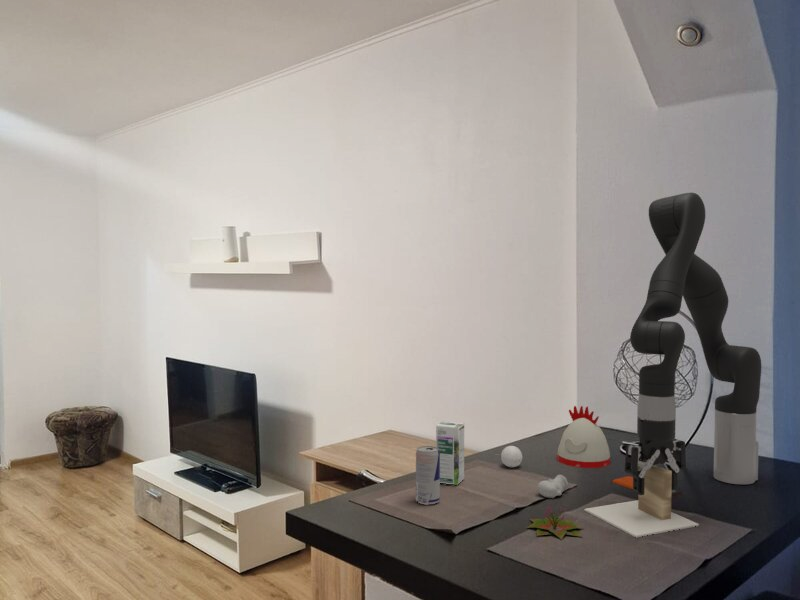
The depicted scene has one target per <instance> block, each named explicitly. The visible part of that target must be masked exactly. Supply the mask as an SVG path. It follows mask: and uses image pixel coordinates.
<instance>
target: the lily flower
mask: <svg viewBox="0 0 800 600" xmlns="http://www.w3.org/2000/svg"><path fill="white" fill-rule="evenodd" d="M560 510H562V506H561V507H560V508H559V510H558V512H555V510H553V511H552V509H551V508H550V507H549V506H548V508H547V511H548V512H547V511H545V514H543V516H544V518H534V519H533V518H529V520H530V521H531V522H532V523H531V524H529V526H526V527H525V528H528V529H529V528H537V529H536V531H535V533H536V537H538V536H544V535H545V536H546V535H555V536H557V537H558V538H559V539H560V540H562V539H563V538H564V536H565V535H568V536H569V535H570V536H573V537H574V536H575V537H581V538H583V536H582V535H581V534H580V532H579V531H578V530H576V529H581V530H583V529H584V530H585V528H583V527H581V526H580V525H577V524H576V523H574V520H573V519H571V520H569V519H564V518H565V517H566V516H565V515H563V516H561V515H562V514H565V513H566V512H565V511H567V508H566V509H564V510H563V511H561V512H560ZM559 512H560V513H559ZM555 513H556V514H555ZM546 514H547V515H546ZM549 514H550V515H549ZM550 516H551V517H550ZM560 516H561V518H559V517H560ZM550 528H552V529H550ZM557 528H560V530H558V531H556V529H557ZM554 529H555V530H554ZM547 531H549V532H547ZM567 532H569V533H567Z"/></svg>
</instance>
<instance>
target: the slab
mask: <svg viewBox="0 0 800 600" xmlns="http://www.w3.org/2000/svg"><path fill="white" fill-rule="evenodd" d="M644 463H646V462H645V461H644ZM641 468H642V467H641ZM641 468H640V469H641ZM639 471H640V470H639ZM643 478H645V481H644V495H638V494H637V496H638V497H637V499H638V509H639V510H641V511H643V512H645V513H648V514H650V515H652V516H654V517H656V518H658V519H660V520H666V519H671V512H672V498H671V489H672V471H670V470H668V469H667V468H666V467H661V466H659V465H658V464H657V465H652V466H651V468H650V469H648V470H647V471H646V473H645V475H644V477H643Z"/></svg>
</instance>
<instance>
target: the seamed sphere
mask: <svg viewBox="0 0 800 600" xmlns="http://www.w3.org/2000/svg"><path fill="white" fill-rule="evenodd" d="M496 455H498V456H500V457H501V459H500V460H501V461H502V463H503V464H504V465H505V466H506V467H508V468H512V469H513V468H516V467H518V466H519V465H520V464H521V463H522V461H523V453H522V451H521V449H519V447H517V446H514V445H507V446H506V447H504V448H503V449H502V451H501V454H499V453H498V454H497V453H496Z"/></svg>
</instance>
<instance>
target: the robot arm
mask: <svg viewBox="0 0 800 600" xmlns="http://www.w3.org/2000/svg"><path fill="white" fill-rule="evenodd" d="M648 218H649V223H650V226H651V228H652V231H653V234H654V235H655V238H656V239H657V241H658V243H659V245H660V247H661V249H662V251H663V252H664V254H665V256H664V257H663V258H662V260H661V261H660V262H659V263H658V264H657V266H656V268H655V269H654V270H653V273H652V274H651V277H650V281H649V284H648V285H649V286H648V290H647V295H646V300H645V303H644V305H643V308H642V310H641V311H640V313H639V314H638V317H636V320H635V322H634V324H633V326H632V329H631V332H630V336H629V339H630V341H629V342H630V344H631V347H632V348H633V350H634V351H635V352H636V353H639V354H644V355H645V354H646V355H661V356H663V360H662V361H661V362H660V363H657V364H648V365H644V366H642V367H640V369H639V373H638V374H639V375H638V399H637V412H636V413H637V414H636V415H637V419H636V421H637V422H636V423H637V424H636V426H637V427H636V428H637V429H636V430H637V431H636V435H637V436H638V440H639V441H638V444H637V445H632V444H627V445H626V446H625V455H624V456H625V459H624V460H625V461H624V473H627V474H629V475H631V476H632V477H633V489H632V490H633V492H634V494H636V495H637V496H638V495H644V481H645V478H643V477H644V475H645V473H646V471H647V470H648V469H650V468H651V466H652V465H657V466H658V465H659V464H660V465H661V464H662V465H664V467H665V469H668V470H670V471H672V489H671V490H676V489H677V486H678V473H679V472H680V470H681V469H683V470H684V469H686V467H687V465H686V464H687V463H686V462H687V460H686V458H687V457H686V456H687V455H686V441H684V440H681V439H677V438H676V421H677V420H676V419H677V418H676V414H677V411H676V410H677V409H676V408H677V407H676V398H675V396H676V394H675V393H676V389H675V387H676V386H675V385H676V372H677V368H678V363H679V361H680V357H681V354H682V351H683V348H684V345H685V341H686V334H685V333H686V332H685V330H684V328H683V326H682V325H681V324H680V323H679V322H677V321H667V320H665V319H667V318H673V317H676V315H677V316H678V314H679V313H680V311H681V307H682V301H684V302H685V305H686V307H687V310H688V312H689V315H690V316H691V319H692V321H693V323H694V326H695V328H696V331H697V334H698V335H697V336H698V337H699V341H700V344H701V347H702V352H703V355H704V359H705V362H706V366H707V369H708V371H709V373H710V375H711V376H712V377H713V378H714V379H716V380H718V381H720V382H725V383H733V384H734V385H733V390H732V392H731V393H728V394H724V395H720V396H717V397H716V398H715V400H714V436H713V437H714V442H713V443H714V445H713V478H714V479H715V480H717V481H720V482H723V483H727V484H731V485H732V484H733V485H753V484H754V483H755V482H756V481H758V480H759V447H760V446H759V442H758V441H757V407H758V402H759V400H760V394H761V393H760V392H761V391H760V389H761V381H762V380H761V378H762V377H761V376H762V359H761V355H760V353H759V351H758V350H757V349H756V348H754V347H751V346H750V347H749V346H743V345H742V346H741V345H735V344H734V345H733V344H729V343H728V342H727V341H726V338H725V336H724V333H723V328H722V325H723V322H724V319H725V317H726V313H727V312H728V308H729V296H728V294H727V290H726V287H725V285H724V282H723V280H722V279H723V278H722V277H721V275H720V273H719V272H718V271H717V270H716V269H715V268H713V266H711V264H709V263H707V261H705V260H704V259H702V258H701V257H700V256H698V255H697V254H696V253H695V252H696V250H697V246H698V243H699V241H700V238H701V236H702V233H703V229H704V226H705V224H706V223H705V221H706V207H705V203H704V201H703V199H702V197H701V196H700V195H699V194H697V193H695V192H685V193H679V194H674V195H671V196H665V197H662V198H658V199H655V200H653V201H652V202H651V203H650V205H649V207H648ZM663 319H664V321H663ZM645 462H646V463H645ZM641 467H642V468H641ZM640 468H641V469H640ZM639 470H640V471H639Z"/></svg>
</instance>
